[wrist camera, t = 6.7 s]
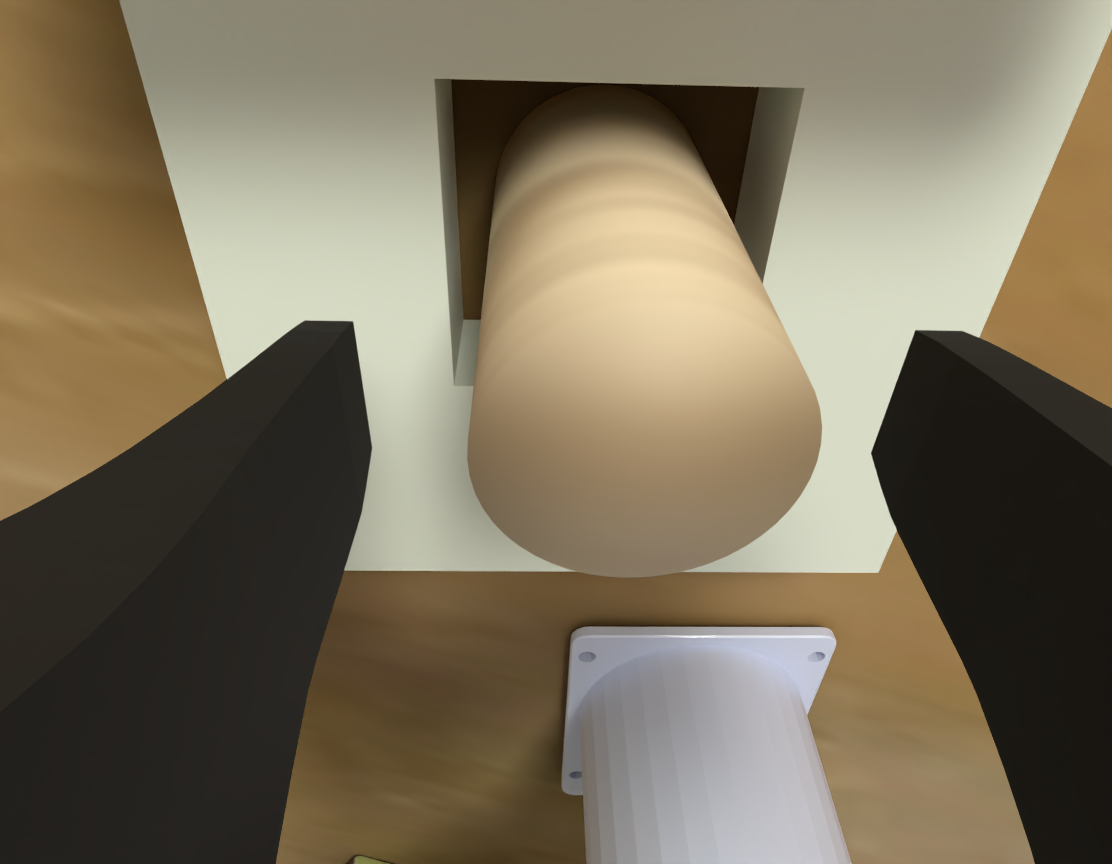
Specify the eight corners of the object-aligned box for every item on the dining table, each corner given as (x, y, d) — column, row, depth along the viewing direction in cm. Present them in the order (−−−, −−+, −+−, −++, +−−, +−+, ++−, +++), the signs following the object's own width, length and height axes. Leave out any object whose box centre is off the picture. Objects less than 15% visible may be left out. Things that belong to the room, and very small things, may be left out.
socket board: (845, 499, 20) (878, 572, 18) (306, 495, 20) (281, 570, 18) (1243, -612, 9) (1435, -728, 7) (31, -681, 9) (-116, -826, 7)
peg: (686, 287, 16) (780, 578, 10) (496, 284, 16) (473, 577, 10) (716, 87, 14) (866, 307, 8) (493, 81, 14) (458, 301, 8)
